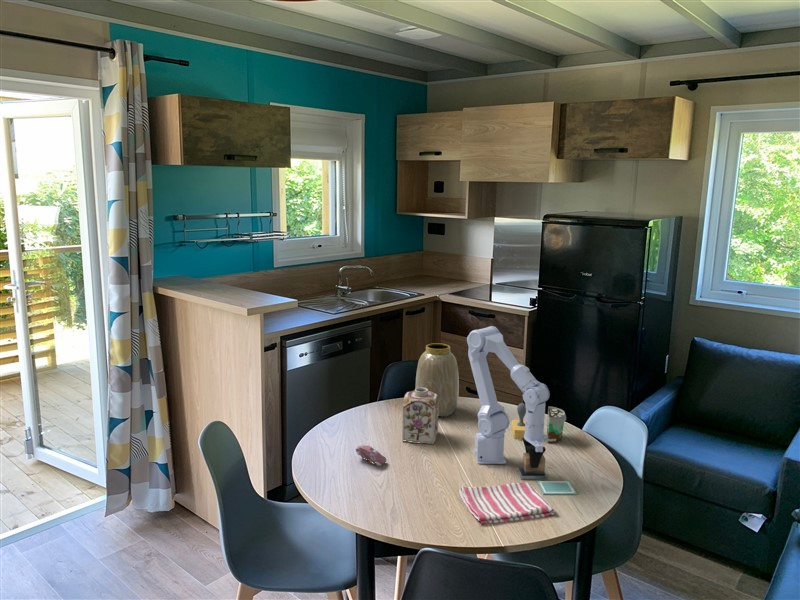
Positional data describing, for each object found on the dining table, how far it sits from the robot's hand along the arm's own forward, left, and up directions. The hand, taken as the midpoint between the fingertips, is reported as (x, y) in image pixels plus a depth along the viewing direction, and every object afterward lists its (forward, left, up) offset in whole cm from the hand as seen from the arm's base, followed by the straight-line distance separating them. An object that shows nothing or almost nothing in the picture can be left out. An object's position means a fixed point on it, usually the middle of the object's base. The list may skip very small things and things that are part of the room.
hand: (532, 464), depth 192 cm
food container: (+15, +29, -4) cm, 33 cm away
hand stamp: (0, 0, -2) cm, 2 cm away
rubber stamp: (+3, +33, -4) cm, 33 cm away
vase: (-26, +56, -4) cm, 61 cm away
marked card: (+5, -8, -4) cm, 11 cm away
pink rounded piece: (-51, +9, -4) cm, 52 cm away
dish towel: (-12, -18, -4) cm, 22 cm away
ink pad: (0, 0, -4) cm, 4 cm away
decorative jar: (-34, +30, -4) cm, 45 cm away
